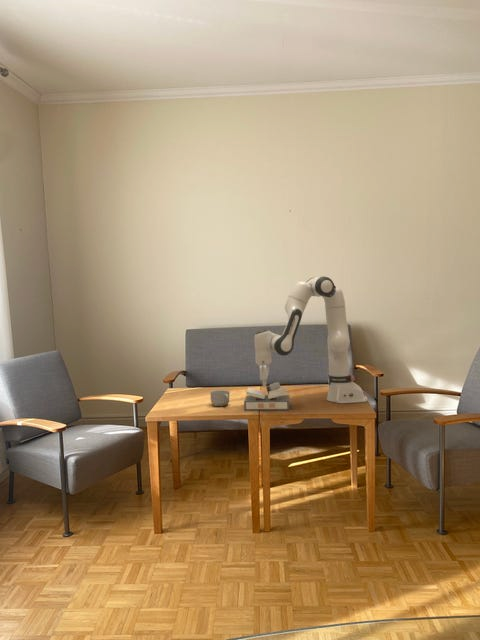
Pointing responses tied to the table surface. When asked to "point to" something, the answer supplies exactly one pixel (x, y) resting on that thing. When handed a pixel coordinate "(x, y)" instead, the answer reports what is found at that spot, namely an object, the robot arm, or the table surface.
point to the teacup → (219, 397)
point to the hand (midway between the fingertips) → (265, 385)
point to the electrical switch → (273, 387)
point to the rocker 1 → (256, 393)
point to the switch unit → (267, 403)
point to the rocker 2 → (277, 392)
